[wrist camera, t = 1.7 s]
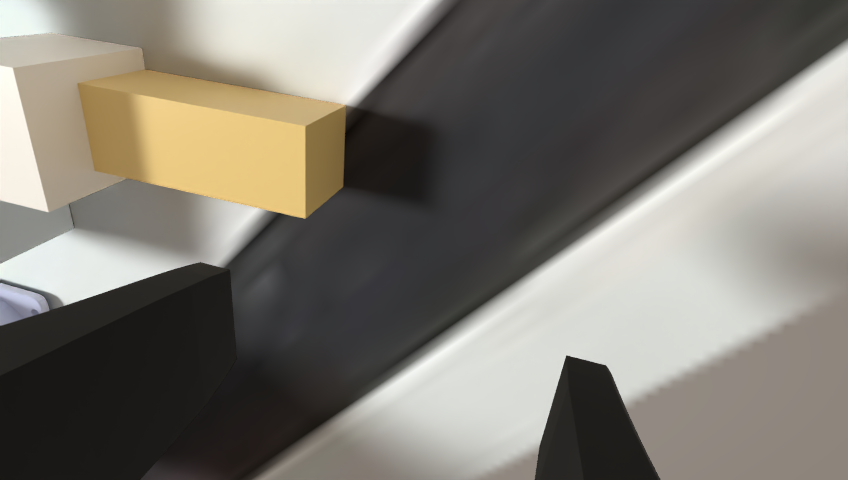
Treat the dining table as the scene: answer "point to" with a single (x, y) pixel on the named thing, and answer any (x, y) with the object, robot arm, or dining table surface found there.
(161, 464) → the dining table surface
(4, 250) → the housing
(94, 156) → the plug
